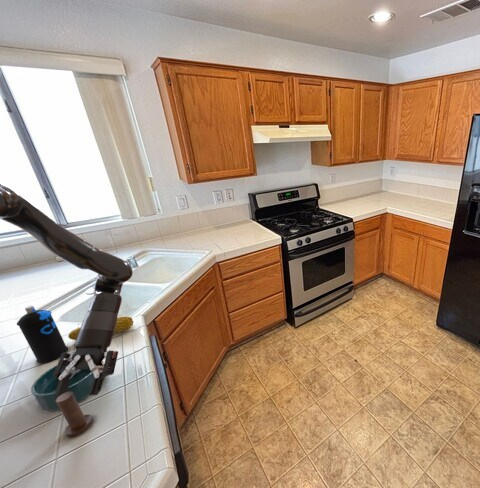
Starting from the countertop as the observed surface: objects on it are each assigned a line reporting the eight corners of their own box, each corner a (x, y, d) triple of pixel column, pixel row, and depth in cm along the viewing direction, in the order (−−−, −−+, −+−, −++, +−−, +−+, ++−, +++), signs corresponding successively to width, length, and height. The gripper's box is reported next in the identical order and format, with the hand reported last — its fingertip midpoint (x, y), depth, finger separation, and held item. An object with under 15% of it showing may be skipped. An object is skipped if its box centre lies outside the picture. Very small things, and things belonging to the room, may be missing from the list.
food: (136, 324, 109) (131, 312, 107) (131, 332, 104) (126, 319, 102) (74, 337, 103) (68, 325, 101) (66, 347, 98) (59, 333, 96)
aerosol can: (31, 367, 89) (4, 317, 82) (44, 351, 96) (20, 304, 89) (62, 358, 92) (38, 309, 85) (72, 344, 99) (51, 298, 92)
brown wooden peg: (63, 442, 64) (45, 410, 60) (70, 424, 68) (54, 393, 65) (90, 430, 66) (74, 399, 63) (95, 414, 70) (81, 384, 67)
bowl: (29, 422, 69) (19, 405, 67) (51, 381, 82) (44, 366, 80) (101, 395, 76) (94, 379, 74) (111, 362, 89) (105, 347, 87)
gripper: (60, 329, 70) (34, 398, 63) (112, 326, 70) (91, 395, 63) (84, 332, 77) (63, 395, 70) (132, 330, 77) (115, 393, 70)
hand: (76, 395), depth 67 cm, fingers open, 8 cm apart
